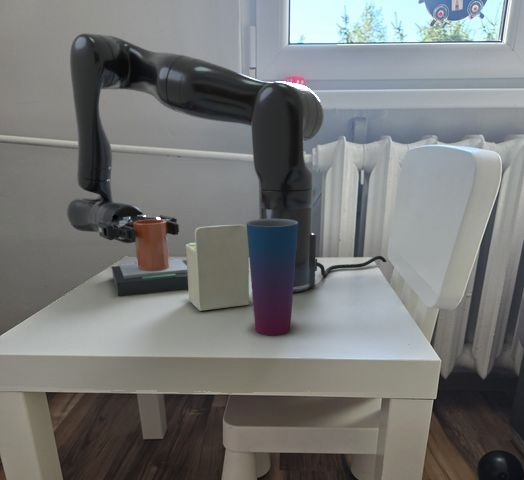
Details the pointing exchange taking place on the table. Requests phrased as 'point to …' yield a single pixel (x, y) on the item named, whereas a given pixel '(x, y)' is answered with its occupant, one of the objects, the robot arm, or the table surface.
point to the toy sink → (218, 267)
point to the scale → (150, 278)
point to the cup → (272, 272)
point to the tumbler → (151, 244)
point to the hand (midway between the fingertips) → (155, 231)
